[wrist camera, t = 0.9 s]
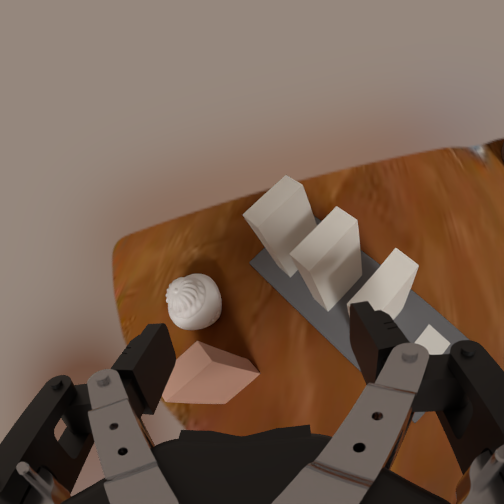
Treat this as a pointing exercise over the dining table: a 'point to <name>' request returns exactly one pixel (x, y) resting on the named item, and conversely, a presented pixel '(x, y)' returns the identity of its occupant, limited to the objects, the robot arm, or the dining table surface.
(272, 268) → the domino mat
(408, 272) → the ivory domino
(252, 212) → the ivory domino
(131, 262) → the dining table surface
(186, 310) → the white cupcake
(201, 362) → the terracotta domino
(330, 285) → the ivory domino
